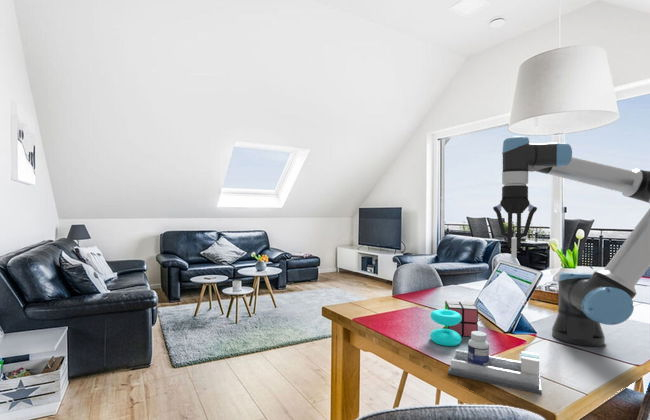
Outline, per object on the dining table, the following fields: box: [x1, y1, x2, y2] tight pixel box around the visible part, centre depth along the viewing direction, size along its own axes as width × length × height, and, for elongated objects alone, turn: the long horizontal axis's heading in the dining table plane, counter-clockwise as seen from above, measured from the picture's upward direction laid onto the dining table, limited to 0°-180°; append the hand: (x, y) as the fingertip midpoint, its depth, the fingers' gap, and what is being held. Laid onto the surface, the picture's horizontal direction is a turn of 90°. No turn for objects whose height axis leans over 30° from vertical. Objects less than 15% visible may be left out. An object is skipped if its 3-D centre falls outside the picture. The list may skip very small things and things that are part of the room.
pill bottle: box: [467, 330, 490, 366], centre depth 102 cm, size 5×5×10 cm
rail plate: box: [447, 349, 543, 395], centre depth 100 cm, size 22×11×4 cm, turn 62°
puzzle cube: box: [444, 300, 479, 338], centre depth 134 cm, size 10×10×10 cm
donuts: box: [429, 308, 462, 347], centre depth 124 cm, size 10×10×10 cm
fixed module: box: [520, 350, 540, 376], centre depth 96 cm, size 4×6×6 cm
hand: (513, 257), depth 120 cm, fingers closed
